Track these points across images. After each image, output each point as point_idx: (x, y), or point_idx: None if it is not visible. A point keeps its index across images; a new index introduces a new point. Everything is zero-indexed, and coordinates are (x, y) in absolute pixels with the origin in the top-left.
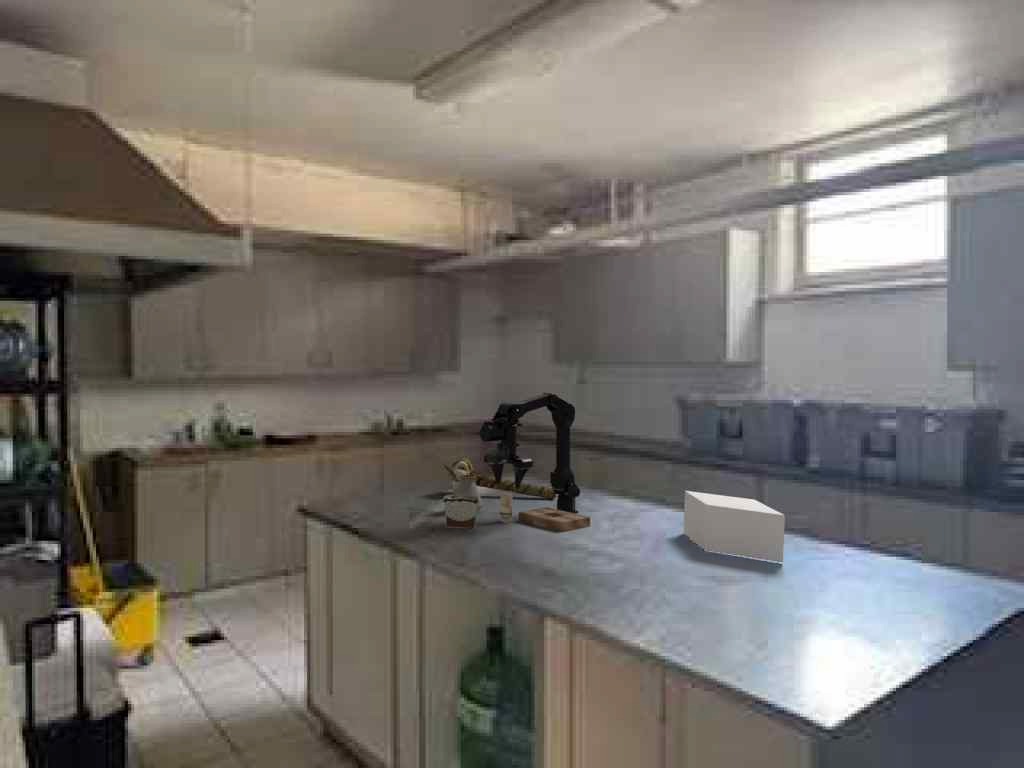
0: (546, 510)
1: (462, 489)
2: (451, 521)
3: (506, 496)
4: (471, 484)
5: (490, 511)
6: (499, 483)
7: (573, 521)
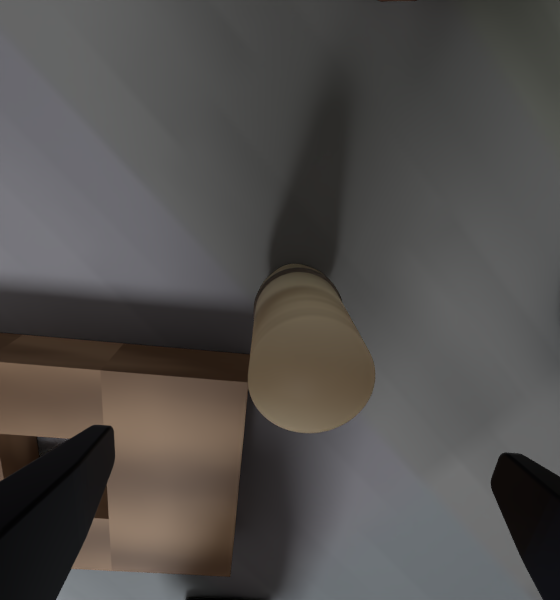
0: (171, 523)
1: None
2: None
3: (269, 335)
4: None
5: (522, 416)
6: (494, 483)
7: None
